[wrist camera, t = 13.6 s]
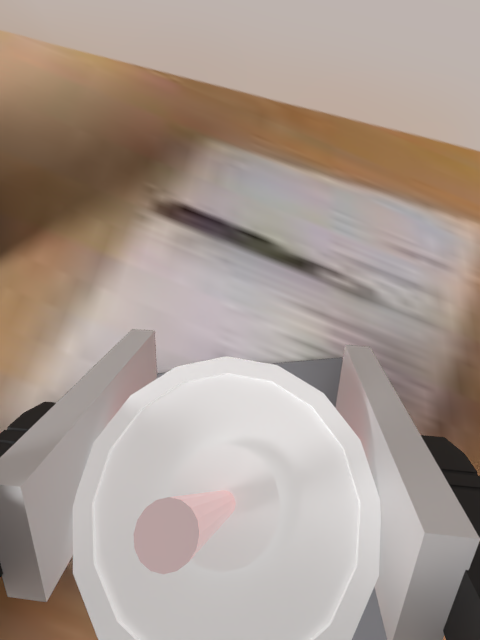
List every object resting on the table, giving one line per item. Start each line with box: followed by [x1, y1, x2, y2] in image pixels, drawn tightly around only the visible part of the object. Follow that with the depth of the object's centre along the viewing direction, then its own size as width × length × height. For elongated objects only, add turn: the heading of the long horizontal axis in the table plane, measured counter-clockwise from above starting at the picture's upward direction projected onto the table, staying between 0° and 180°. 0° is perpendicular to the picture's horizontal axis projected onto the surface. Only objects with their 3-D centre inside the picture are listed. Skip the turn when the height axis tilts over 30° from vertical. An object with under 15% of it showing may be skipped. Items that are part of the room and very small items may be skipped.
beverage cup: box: [73, 356, 381, 640], centre depth 9 cm, size 6×6×14 cm
